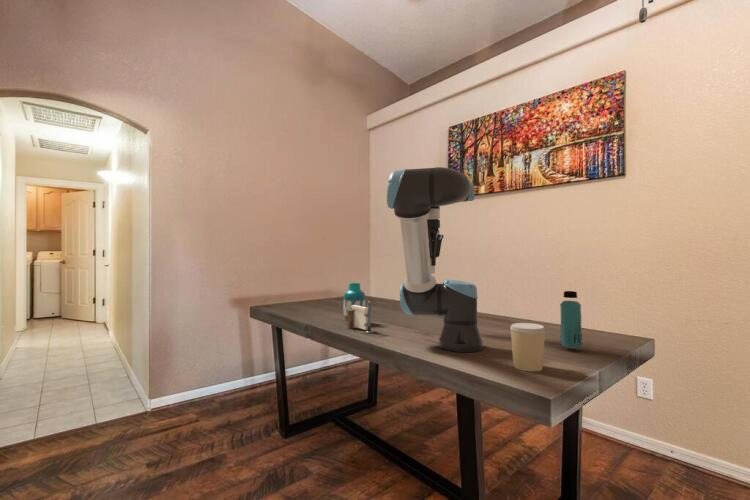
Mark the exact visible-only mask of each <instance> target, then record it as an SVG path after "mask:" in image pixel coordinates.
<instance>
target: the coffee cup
mask: <svg viewBox="0 0 750 500" xmlns="http://www.w3.org/2000/svg"><path fill="white" fill-rule="evenodd" d="M509 328H510V335H511V337H510V338H511V339H510V340H511V350H512V362H513V367H514V368H515V369H517V370H521V371H524V372H525V371H526V372H541V371H542V370H543V367H544V366H543V365H544V356H545V355H544V354H545V353H544V352H545V351H544V350H545V340H546V339H545V337H546V334H545V333H546V328H545V326H543V325H542V324H538V323H532V322H516V323H512V324H511V326H510V327H509Z"/></svg>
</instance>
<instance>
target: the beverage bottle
mask: <svg viewBox="0 0 750 500" xmlns="http://www.w3.org/2000/svg"><path fill="white" fill-rule="evenodd" d="M563 298H565V299H566V298H567V299H578V292H577V291H572V290H567V291H563ZM581 307H582V304H580V302H579V301H577V300H563V301H562V302H561V303H560V328H559V329H560V332H559V334H560V338H559V339H560V344H561V346H563V347H565V348H571V349H579V348H581V347H582V345H583V343H582V342H583V334H582V323H583V322H582V308H581Z"/></svg>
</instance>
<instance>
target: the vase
mask: <svg viewBox="0 0 750 500" xmlns="http://www.w3.org/2000/svg"><path fill="white" fill-rule="evenodd" d="M366 304H367V302H366V294H365V292H364V291H363V290H362V289H361V283H360V282H349V283H348V290H346V291H345V292H344V293H343V301H342V307H343V309H342V312H343V317H344V320H345V322H347V310H351V309H352V308H351V305H357V306H362V307H366V306H367V305H366ZM366 308H367V307H366Z"/></svg>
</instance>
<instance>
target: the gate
mask: <svg viewBox="0 0 750 500" xmlns="http://www.w3.org/2000/svg"><path fill="white" fill-rule="evenodd" d="M351 308H352V310H354V328H358V329H361V330H365V331H368V307H362V306H357V305H351Z"/></svg>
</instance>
